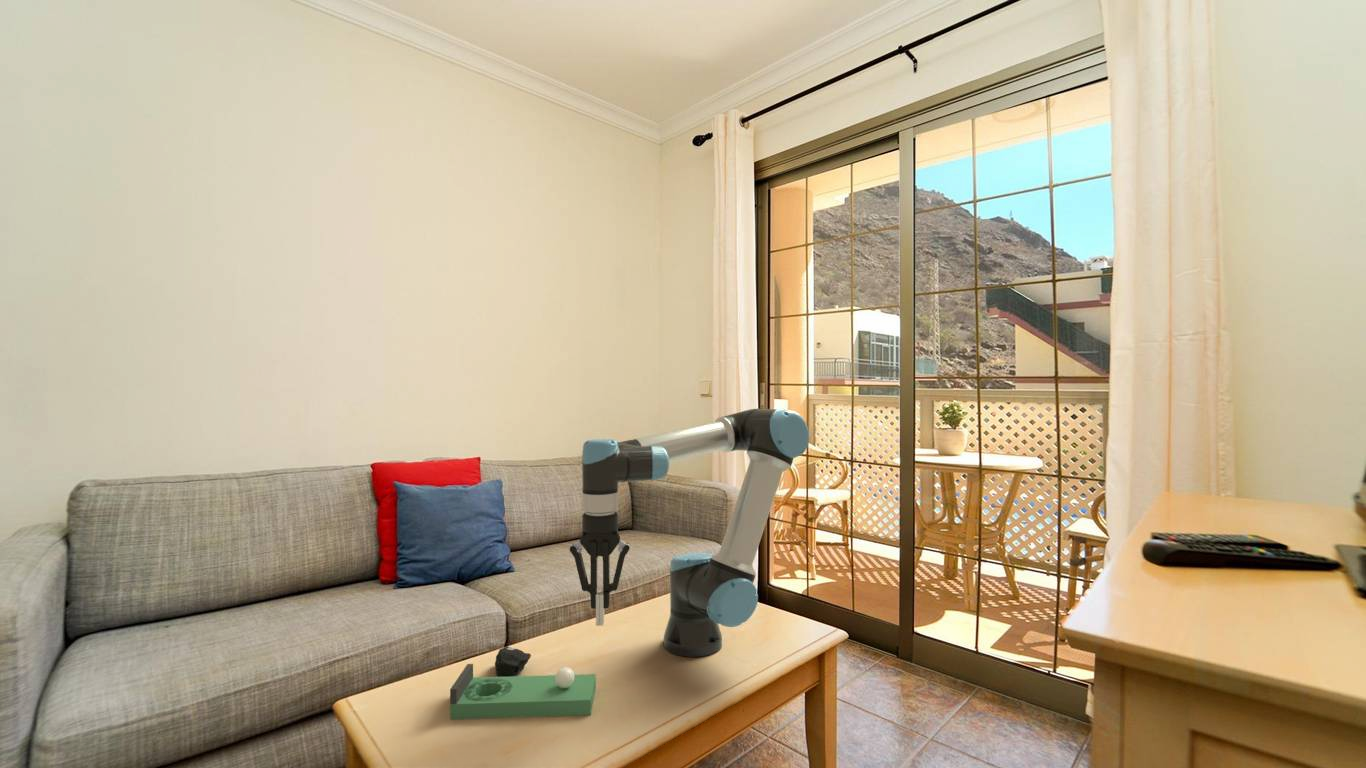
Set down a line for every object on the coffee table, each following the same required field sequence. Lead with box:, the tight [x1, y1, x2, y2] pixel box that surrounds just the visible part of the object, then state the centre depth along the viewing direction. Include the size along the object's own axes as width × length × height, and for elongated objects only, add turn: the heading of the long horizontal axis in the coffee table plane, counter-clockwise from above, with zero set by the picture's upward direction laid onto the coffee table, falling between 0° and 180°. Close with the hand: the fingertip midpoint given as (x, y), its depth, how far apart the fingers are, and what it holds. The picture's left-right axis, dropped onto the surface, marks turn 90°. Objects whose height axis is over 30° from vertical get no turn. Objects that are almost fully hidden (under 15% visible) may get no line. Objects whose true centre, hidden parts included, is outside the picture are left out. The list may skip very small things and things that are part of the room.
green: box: [449, 663, 597, 720], centre depth 124 cm, size 28×11×6 cm, turn 93°
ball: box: [555, 666, 575, 688], centre depth 124 cm, size 4×4×4 cm
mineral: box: [494, 646, 532, 677], centre depth 136 cm, size 10×9×6 cm
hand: (600, 623), depth 125 cm, fingers closed
